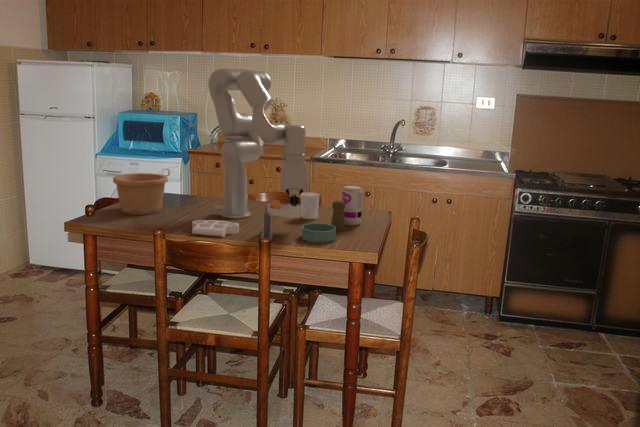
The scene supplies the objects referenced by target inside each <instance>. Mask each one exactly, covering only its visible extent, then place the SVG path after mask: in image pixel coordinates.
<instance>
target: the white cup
mask: <svg viewBox="0 0 640 427" xmlns="http://www.w3.org/2000/svg"><path fill="white" fill-rule="evenodd" d="M319 203H320V193H318V192H303V193H301V194H300V207H301V209H300V211H301V213H300V218H302V219H305V220H316V219H318V215H319V214H318V213H319V205H320V204H319Z"/></svg>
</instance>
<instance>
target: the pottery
mask: <svg viewBox="0 0 640 427" xmlns="http://www.w3.org/2000/svg"><path fill="white" fill-rule="evenodd" d="M112 178H113V179H112V181H113V184H115V185H116V190H117V195H118V201H119V206H120V211H121V213H122V212H123V214H124V213H125V215H131V216H148V214H150V215H153V214H155V215H156V214H158V213H160V212H162V210H163V202H164V193H165V186H166V183H167V182H168V179H169V178H168V176H167V175H164V174H158V173H148V172H144V173H143V172H141V173H140V172H137V173H136V172H135V173H134V172H133V173H124V174H123V173H122V174H118V175H115V176H113V177H112Z"/></svg>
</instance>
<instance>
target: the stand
mask: <svg viewBox="0 0 640 427" xmlns="http://www.w3.org/2000/svg"><path fill="white" fill-rule="evenodd" d="M267 207H268V206H265V212H264V215H263V216H264V217H263V228H262V231H261V233H260V234H261V235H260V238H259V240H260V239H261V238H266V237H267V238H270V239H271V241H272V240H273V235H274V229H273V228H271V215H269V213H267ZM272 242H273V241H272Z"/></svg>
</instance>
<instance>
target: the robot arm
mask: <svg viewBox="0 0 640 427" xmlns="http://www.w3.org/2000/svg"><path fill="white" fill-rule="evenodd" d="M207 85H208V91H209V96H210V97H211V100H212V103H213V106H214V109H215V110H214V111H215V114H216V118H217V119H216V120H217V123H218V127H219V131H220V133H221V135H222V136H224V137H226V138H236V137H237V138H238V137H240V138H239V139H230V140H227V141H226V142H224V143H223V145H222V147H221V159H222V163H223V164H222V165H223V204H221V205H219V204H218V205H217V204H213V211H214V210H215V211H220V212H219V215H220V217H222V218H226V219H245V218H246V219H247V218H249V217H250V216H251V211H249V210H248V172H247V169H246V167H245V164H244V163H249V162H255V161H257V160H259V159H260V158H261V155H262V146H261V141H262V142H264V144H267V145H274V144H275V145H277V144H284V154H281V155H280V159H282V160H284V161H282V165H281V171H280V172H281V173H280V174H281V175H280V176H281V177H280V192H284V193H286V194H287V195H288V196H289V197H290V200H289V201H290V203H289V204H292V206H296V205H299V197H300V196H301V193H308V192H309V191H310V190H309V170H308V167H309V166H308V162H307V161H306V127H305V126H304V125H300V124H290V123H287V122H286V123H285V122H284V123H282V122H281V123H270V121H269V120H268V118H267V116H266V114H265V111H266V110H268V109H269V108H270V107H271V105H272V103H273V102H272V101H273V99H272V97H271V95H270V94H269V92H268V91H270V89H271V86H272V80H271V77H270V76H269V75H268V74H267V73H266V72H265V71H261V70H251V69H244V68H243V69H242V68H239V69H237V68H218V69H216V70H214V71H213V72H212V73H211V74H210V75H209V78H208V84H207ZM228 91H240V92H241V93H242V96H244V99H245V100H246V102H247V103H248V105H249V106H250V108H251V110H252V112H251V115H250V114H248V113H246V112H245V113H239V112H238V109H237V105H236V102H235V100H234V98H233V97H232V95H231V94H230V93H229V92H228ZM293 190H296V192H295V194H294V192H293Z"/></svg>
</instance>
